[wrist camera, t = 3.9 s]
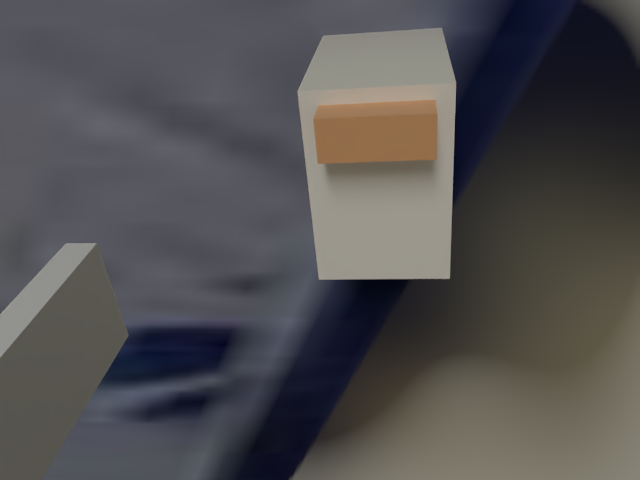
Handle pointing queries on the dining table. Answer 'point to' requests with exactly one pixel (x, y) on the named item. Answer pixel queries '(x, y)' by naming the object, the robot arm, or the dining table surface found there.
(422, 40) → the plug
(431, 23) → the dining table surface
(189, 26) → the dining table surface
